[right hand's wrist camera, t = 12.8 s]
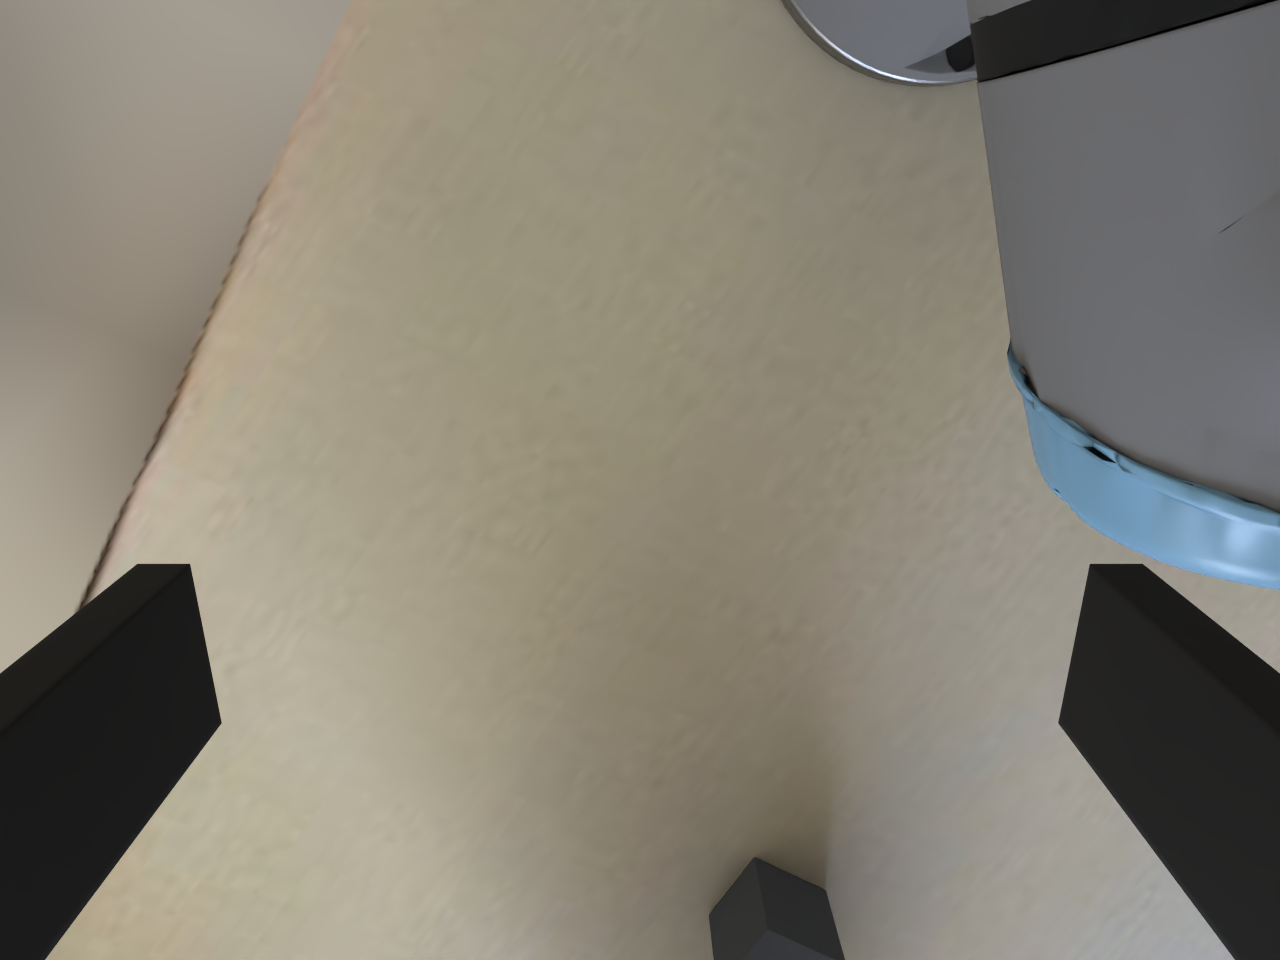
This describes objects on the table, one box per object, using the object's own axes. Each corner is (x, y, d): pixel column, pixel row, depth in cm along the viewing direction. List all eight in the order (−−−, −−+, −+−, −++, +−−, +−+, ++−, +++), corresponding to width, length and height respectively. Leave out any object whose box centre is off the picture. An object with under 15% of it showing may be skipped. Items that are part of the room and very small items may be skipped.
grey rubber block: (754, 856, 50) (767, 929, 45) (825, 890, 51) (846, 964, 46) (708, 915, 51) (716, 990, 46) (778, 946, 52) (794, 1024, 47)
